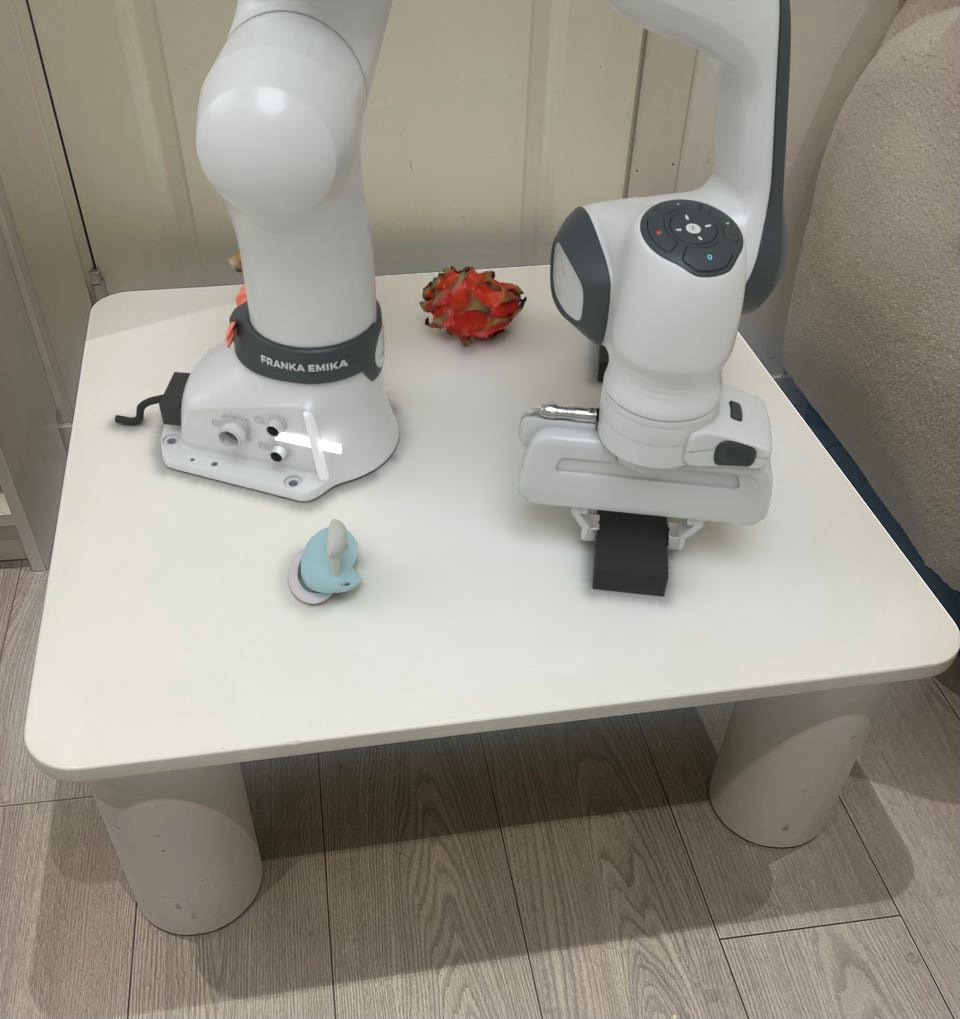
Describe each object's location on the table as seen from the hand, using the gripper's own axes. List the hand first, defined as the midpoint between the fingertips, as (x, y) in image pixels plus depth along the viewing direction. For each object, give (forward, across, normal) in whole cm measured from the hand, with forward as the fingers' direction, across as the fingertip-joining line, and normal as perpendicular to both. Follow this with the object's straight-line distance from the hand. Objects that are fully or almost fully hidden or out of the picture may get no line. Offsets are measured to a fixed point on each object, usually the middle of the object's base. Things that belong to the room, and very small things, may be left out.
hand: (631, 540), depth 87 cm
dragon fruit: (+2, -18, +31) cm, 36 cm away
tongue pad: (+2, 0, +1) cm, 2 cm away
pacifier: (+2, -26, -6) cm, 26 cm away
